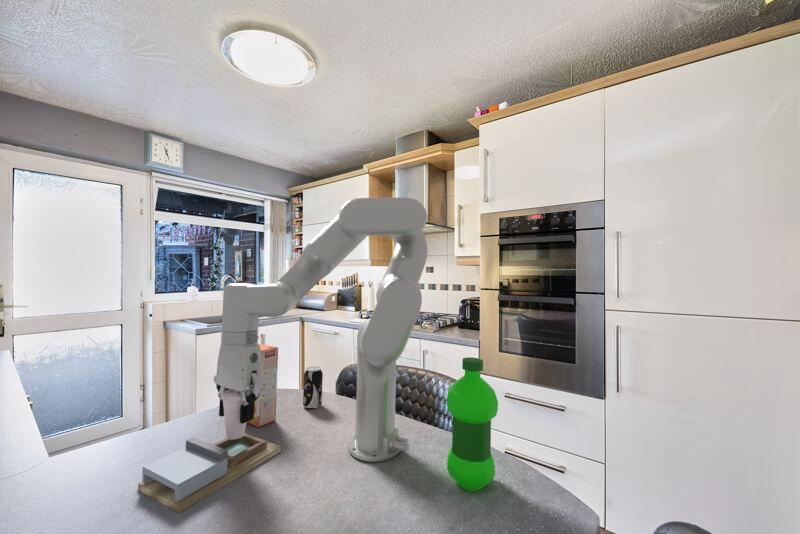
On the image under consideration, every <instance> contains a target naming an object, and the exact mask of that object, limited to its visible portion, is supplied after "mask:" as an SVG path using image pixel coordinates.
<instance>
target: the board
mask: <svg viewBox="0 0 800 534" xmlns="http://www.w3.org/2000/svg"><path fill="white" fill-rule="evenodd" d="M213 445H215V446H218V447H220V448H223V449H225V450H228V461H227V473H226V474H225V475H223V476H221V477H219V478H218V479H216V480H214V481H213V482H211V483H209V484H207V485H206V486H204V487H202V488H200V489H199V490H197V491H195V492H193V493H192V494H190V495H188V496H186V497H185V498H183V499H181V500H179V501H178V502H176V501H175V490H174V489H172V488H170V487H168V486H166V485H164V484H162V483H161V482H159V481H157V480H155V479H153V480H151V481H148V482H146V483H142V481H140V482H138V485H137V489H138V491H140V492H141V493H143V494H144V495H147V496H148V497H150V498H152V499H154V500H155V501H157V502H159V503H161V504H162V505H164V506H166V507H168V508H169V509H170V510H173V511H174V512H176V513H178V514H179V513H182V511H185V510H186V509H187V508H190V507H191V506H193V505H194V504H196V503H197V502H199V501H201V500H203V499H204V498H206V497H207V496H209V495H211V494H212V493H214V492H216V491H218V490H219V489H221V488H223V487H224V486H225V485H227V484H229V483H230V482H232V481H234V480H236V479H238V478H239V477H240V476H242V475H244V474H246V473H248V472H249V471H250V470H252V469H253V468H256V467H257V466H258V465H261V464H262V463H263V462H266V461H267V460H269V459H270V458H272V457H273V456H276V455H277V454H279V453H280V452H282V451H281V449H282V446H281V445H279V444H275V443H273V442H270V441H267V440H266V439H263V438H260V437H256V436H254V435H252V434H248V433H246V432H245V434H244V436H243V437H241V438H239V439H233V440H230V439H227V438H226V437H225V438H223V439H220V440H219V441H217V442H215V443H213Z"/></svg>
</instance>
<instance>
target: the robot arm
mask: <svg viewBox="0 0 800 534" xmlns="http://www.w3.org/2000/svg"><path fill="white" fill-rule="evenodd" d="M427 219H428V214H427V209H426V207H425V206H424V205H423V204H422V202H420V201H419V200H417V199H414V198H412V197H406V196H405V197H402V196H401V197H359V198H358V197H357V198H352V199H349V200H347V201H346V202H345V203H344V204H343V205H342V206H341V208H340V209H339V213H338V214H337V215H336V217H334V219H333V220H332V221H330V222H329V223H328V225H326V226H325V227H324V228H323V229H322V230H321V231H320V232H319V233H318V234H317V235H315V236H314V237H313V238H312V239H311V240H310V241H309V242H308V243H307V244H306V245H305V247H304V248H303V251H302V253H301V255H300V256H299V257H298V259H297V261H296V262H294V263H293V265H292V267H290V268H289V269H288V270H287V271H286V272H285V273H284V274H283V275H282V276H281V277H280V278H279V279H278V280H276V282H274V283H269V284H261V285H260V284H259V285H258V284H255V283H250V282H249V283H247V282H244V283H243V282H237V283H236V282H233V283H228V284H226V285H225V286H224V288H223V291H222V293H223V294H222V295H223V296H222V316H221V335H220V348H219V351H218V357H217V365H216V374H215V375H214V376H213V382H214V384H215V385H216V390H217V392H218V394H217V396H218V398H219V411H218V416H219V417H220V418H221V417H222V418H223V417H224V407H223V400H222V399H221V397H222V393H223V392H225V391H227V390H230V389H231V390H235V391H239V392H240V393H241V397H242V402H243V405H241V407H240V423H241V424H243V423H246V422H248V421H250V420H252V419H253V418H254V404H255V402H256V401H257V398H258V397H259V396H260V395H261V393H262V392H263V391H264V387H263V385H262V356H261V349H260V344H261V343H259V341H258V340H259V321H260V319H259V318H260V317H265V318H267V317H268V318H279V317H281V316H284V315H285V314H287V313H288V312H289V311H290V310H292V309H293V308H294V307H295V306H296V305H297V304H298V303H299V302H300V301H301V300H302V299H303V298H305V296H306V295H307V294H308V293H309V292H310V291H311V290H312V289H314V287H315V286H316V285H318V283H319V282H320V281H321V280H322V279H324V278H325V277H327V276H328V275H329V274H331V273H332V272H333V271H334V270H335V269H336V268H337V267H338V266H339V265H340V264H341V263H342V262H343V261H344V260H345V259H346V258H347V257H348V256H349V255H350V254H351V253H352V252H353V251H354V249H356V248H357V247H358V246H359V245H360V244H361V243H362V242H363V241H365V239H366V238H367V237H370V236H371V237H374V236H375V237H379V236H380V237H382V236H389V237H391V239H392V240H393V245H394V248H393V252H392V255H391V258H390V261H389V264H388V266H387V269H386V271H385V273H384V274H383V278H382V280H381V282H380V284H379V286H378V287H377V291H376V293H375V298H376V305H375V308H374V310H373V312H372V314H371V317H369V318H367V319H366V320H364V321H363V322H362V324H361V325H360V327H359V328H358V331H357V335H356V364H357V365H356V371H357V372H356V397H355V398H356V399H355V403H356V404H355V428H354V429H355V431H354V433H355V434H354V435H355V436H353V437H352V438H351V439H350V440H349V442H348V452H349V454H350V455H351V456H352V457H354V458H355V459H357V460H360V461H363V462H371V463H372V462H373V463H374V462H375V463H376V462H378V463H379V462H385V461H388V460H390V459H393V458H394V457H395V456H397V455H398V454H399V453H400V452H403V453H405V454H407V453H408V451H409V448H410V445H409V439H408V438H406V437H401V436H400V435H399V428H395V427H396V425H395V424H396V422H395V421H396V393H397V392H396V391H397V390H396V389H397V387H396V386H397V361H398V360H399V359H400V357H401V356H402V354H403V353H404V350H405V348H406V346H407V344H408V342H409V339H410V336H411V335H412V331H413V329H414V326H415V324H416V322H417V320H418V317H419V314H420V312H421V307H422V302H423V296H422V292H421V289H420V287H419V283H420V280H421V277H422V274H423V271H424V269H425V266H426V263H427V259H428V243H427V240H426V236H425V232H424V231H423V229H424V228H425V226H426V224H427ZM257 343H258V344H257ZM248 386H249V389H247V388H248ZM246 392H250V395H249V396H248V398H247V393H246ZM246 424H247V423H246Z"/></svg>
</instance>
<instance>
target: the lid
mask: <svg viewBox="0 0 800 534" xmlns="http://www.w3.org/2000/svg"><path fill="white" fill-rule="evenodd" d="M213 444H214V443H213ZM213 444H212V443H210V442H207V441H204V440H203V439H201V438H197V437H195V436H192V437H191V438H189V439H186V440H185V447H184V448H182V449H179V450H177V451H174V452H172V453H170V454H168V455H166V456H163V457H161V458H159V459H157V460H154V461H152V462H150V463H148V464H145V465H143V466H142V472H141V473H142V474H141V482H142V483H146V482H148V481H151V480H153V479H155V480H157V481H159V482H161V483H162V484H164V485H166V486H168V487H170V488H172V489H174V490H175V501H176V502H178V501H179V500H181V499H183V498H185V497H186V496H188V495H190V494H192V493H193V492H195V491H197V490H199V489H200V488H202V487H204V486H206V485H207V484H209V483H211V482H213V481H214V480H216V479H218V478H219V477H221V476H223V475H225V474H226V473H227V461H228V450H225V449H223V448H220V447H218V446H215V445H213Z"/></svg>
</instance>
